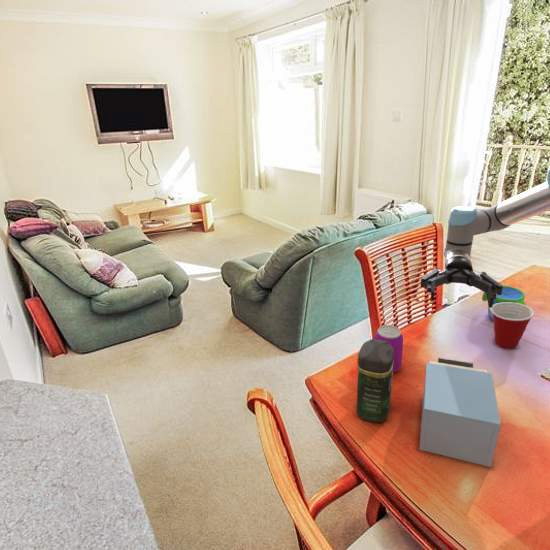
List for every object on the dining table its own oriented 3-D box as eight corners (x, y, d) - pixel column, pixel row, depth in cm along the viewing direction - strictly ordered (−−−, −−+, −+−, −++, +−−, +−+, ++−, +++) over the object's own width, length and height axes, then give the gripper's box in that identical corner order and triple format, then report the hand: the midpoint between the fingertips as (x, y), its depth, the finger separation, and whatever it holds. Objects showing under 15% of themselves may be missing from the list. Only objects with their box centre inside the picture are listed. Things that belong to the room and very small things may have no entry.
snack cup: (533, 328, 120) (540, 300, 115) (503, 333, 118) (509, 305, 114) (498, 305, 134) (503, 280, 130) (471, 310, 132) (475, 284, 128)
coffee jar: (386, 427, 88) (390, 363, 80) (353, 418, 91) (354, 356, 84) (393, 400, 96) (397, 339, 88) (362, 392, 99) (363, 333, 92)
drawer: (426, 377, 101) (429, 347, 97) (478, 386, 96) (484, 355, 92) (423, 435, 84) (427, 401, 80) (486, 450, 79) (494, 414, 75)
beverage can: (406, 364, 108) (409, 329, 103) (392, 378, 103) (395, 342, 98) (382, 354, 113) (383, 320, 108) (368, 367, 108) (369, 332, 103)
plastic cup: (484, 331, 120) (490, 298, 115) (523, 337, 116) (531, 303, 111) (484, 350, 112) (491, 315, 107) (527, 357, 107) (536, 321, 102)
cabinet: (422, 400, 95) (426, 362, 90) (483, 412, 90) (491, 373, 85) (419, 449, 82) (424, 408, 77) (491, 467, 77) (500, 424, 72)
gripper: (503, 282, 110) (514, 318, 93) (413, 274, 120) (408, 306, 102) (507, 258, 107) (520, 291, 90) (415, 252, 117) (410, 281, 99)
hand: (461, 299), depth 96 cm, fingers open, 13 cm apart
